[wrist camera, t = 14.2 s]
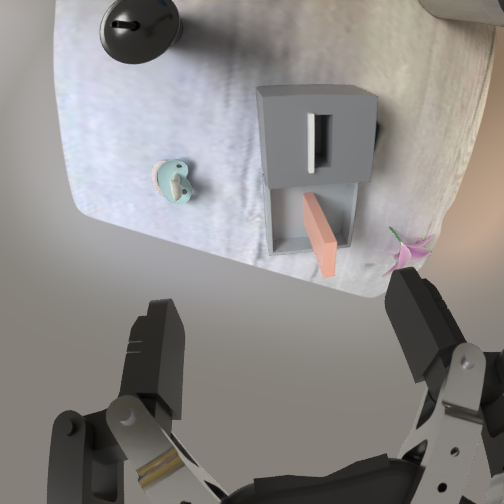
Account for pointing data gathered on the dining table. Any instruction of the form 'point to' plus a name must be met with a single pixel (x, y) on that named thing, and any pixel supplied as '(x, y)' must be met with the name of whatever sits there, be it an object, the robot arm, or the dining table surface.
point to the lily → (409, 253)
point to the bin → (292, 215)
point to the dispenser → (316, 134)
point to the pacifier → (172, 180)
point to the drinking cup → (140, 29)
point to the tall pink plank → (320, 235)
